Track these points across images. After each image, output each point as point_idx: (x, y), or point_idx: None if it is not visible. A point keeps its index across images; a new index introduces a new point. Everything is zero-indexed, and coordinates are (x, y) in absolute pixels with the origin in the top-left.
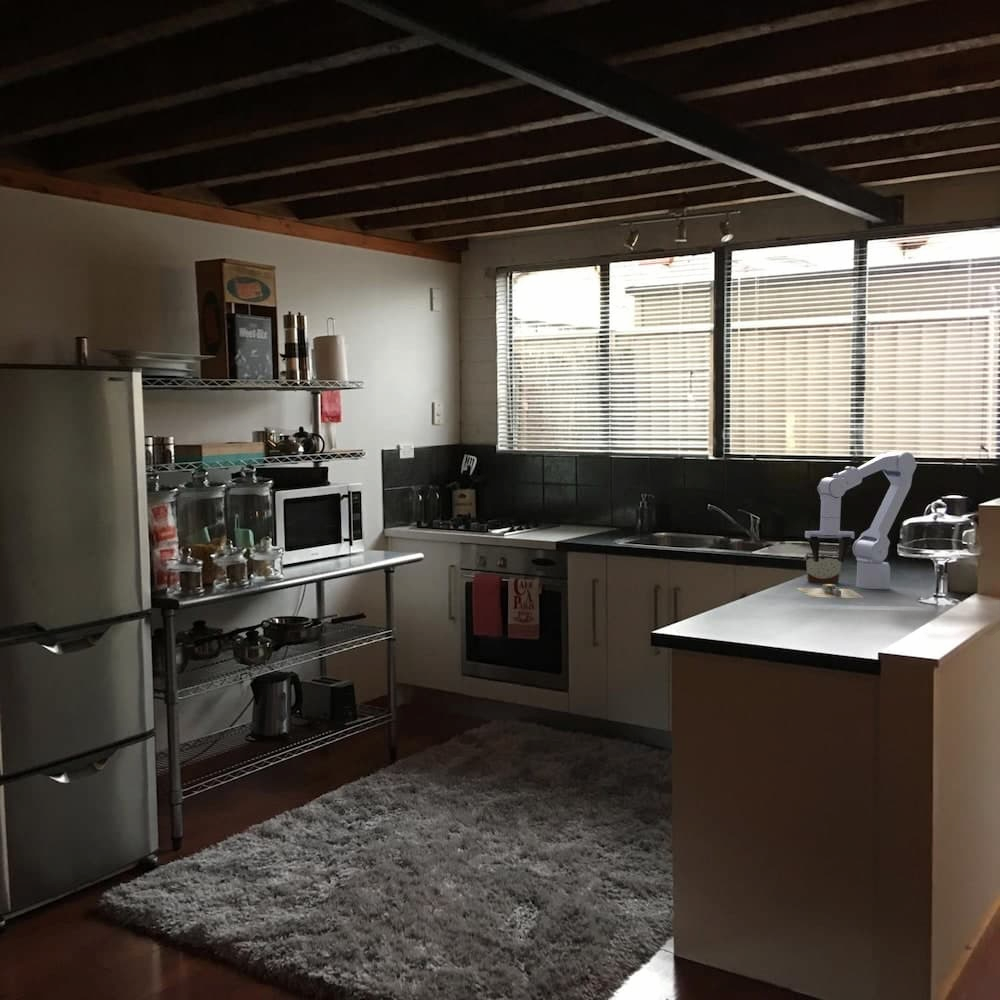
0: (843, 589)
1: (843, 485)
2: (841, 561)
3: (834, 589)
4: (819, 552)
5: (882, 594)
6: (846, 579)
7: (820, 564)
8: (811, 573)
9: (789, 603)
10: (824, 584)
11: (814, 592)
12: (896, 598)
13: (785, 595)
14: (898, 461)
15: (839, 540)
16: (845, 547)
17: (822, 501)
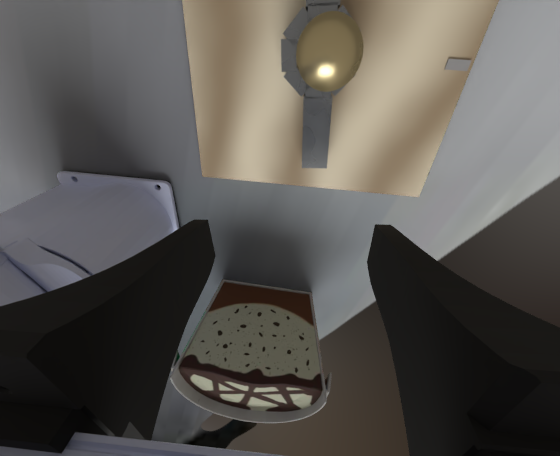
0: (231, 163)
1: None
2: (204, 221)
3: None
4: (250, 419)
5: (85, 127)
6: (183, 350)
7: (268, 349)
8: (301, 322)
9: None
10: (318, 162)
11: (409, 60)
12: (10, 6)
13: (556, 67)
14: None
15: (144, 418)
16: (112, 280)
17: None
